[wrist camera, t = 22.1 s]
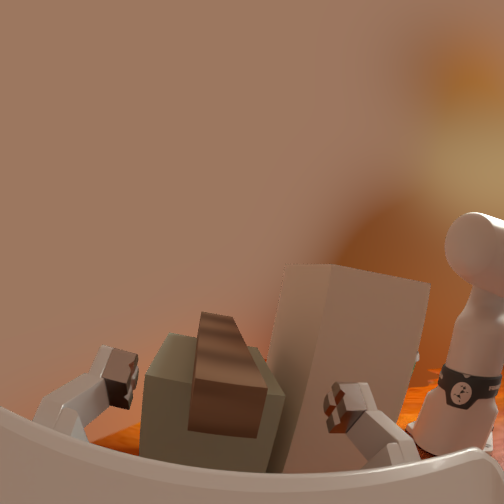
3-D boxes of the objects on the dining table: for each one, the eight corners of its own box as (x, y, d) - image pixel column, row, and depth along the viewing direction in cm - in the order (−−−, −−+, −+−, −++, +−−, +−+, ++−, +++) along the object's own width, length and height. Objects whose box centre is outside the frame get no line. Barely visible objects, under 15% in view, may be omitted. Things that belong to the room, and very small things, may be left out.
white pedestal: (354, 517, 23) (430, 283, 24) (264, 524, 22) (331, 264, 23) (315, 453, 38) (358, 277, 39) (246, 451, 36) (285, 264, 38)
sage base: (246, 533, 20) (285, 395, 21) (138, 520, 19) (145, 374, 20) (233, 459, 34) (257, 347, 35) (155, 448, 33) (169, 332, 34)
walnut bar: (256, 438, 14) (268, 387, 14) (187, 430, 14) (195, 378, 14) (227, 342, 35) (232, 317, 35) (197, 337, 34) (201, 311, 34)
